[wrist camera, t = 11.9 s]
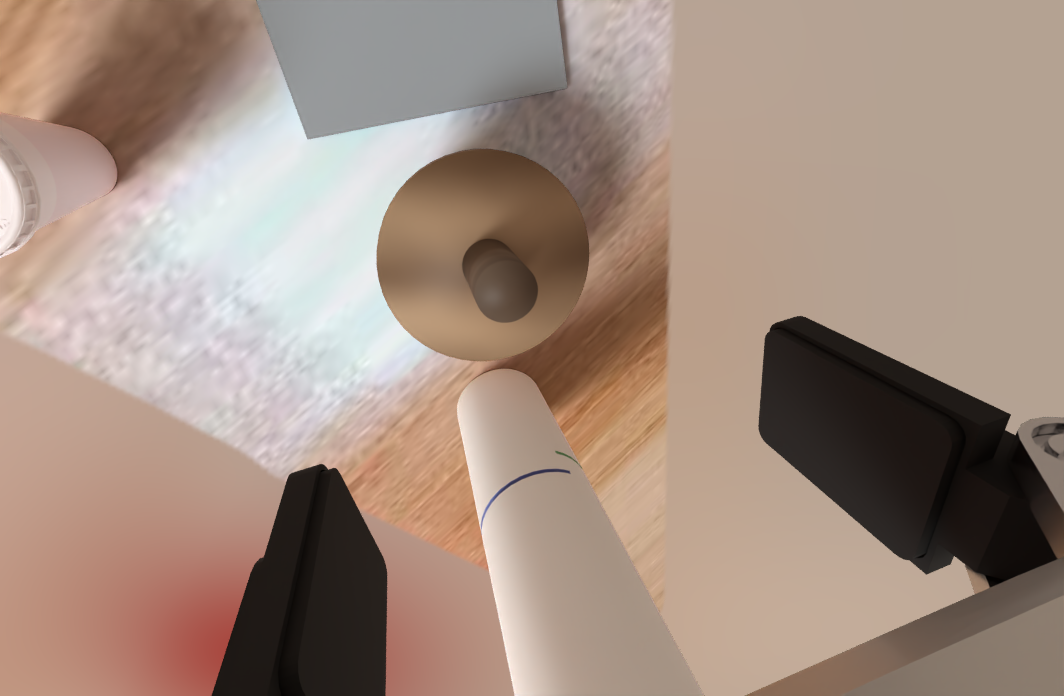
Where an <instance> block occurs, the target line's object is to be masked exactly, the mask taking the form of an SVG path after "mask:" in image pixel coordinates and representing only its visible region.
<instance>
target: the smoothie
mask: <svg viewBox="0 0 1064 696" xmlns="http://www.w3.org/2000/svg"><path fill="white" fill-rule="evenodd" d="M116 181H117V167H116V164H115V161H114V159H113V157H112V155H111V154H110V152H109V151H108V150H107V149H106V147H105V146H104V145H103V144H102V143H101V142H99V141H98V140H97V139H96V138H94V137H93V136H91V135H90V134H88V133H86V132H84V131H81V130H79V129H76V128H72V127H67V126H63V125H58V124H53V123H49V122H44V121H39V120H34V119H30V118H25V117H20V116H15V115H11V114H6V113H1V112H0V258H2V257H4V256H6V255H8V254H11V253H13V252H15V251H17V250H19V249H20V248H21V247H22V246H23V245H24V244H25V243H26V242H28V241H29V240H30V239H31V238H32V237H33V235H34V233H35V231H37V230H38V229H40V228H42V227H44V226H46V225H48V224H50V223H52V222H54V221H56V220H58V219H60V218H62V217H64V216H66V215H68V214H70V213H71V212H73V211H75V210H77V209H79V208H81V207H83V206H85V205H87V204H89V203H91V202H93V201H95V200H97V199H99V198H101V197H103V196H105V195H106V194H108V193H109V192H110V191H111V190H112V189H113V188H114V186H115V184H116Z"/></svg>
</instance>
